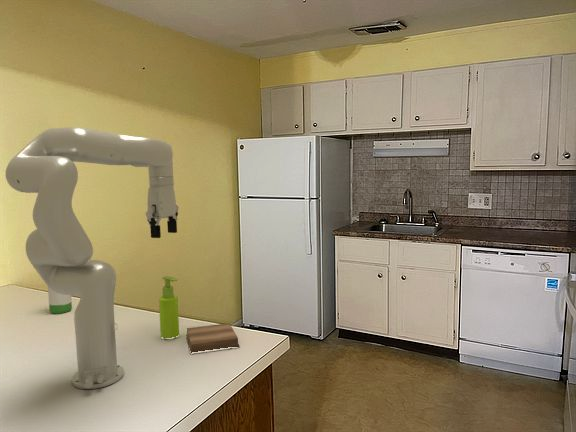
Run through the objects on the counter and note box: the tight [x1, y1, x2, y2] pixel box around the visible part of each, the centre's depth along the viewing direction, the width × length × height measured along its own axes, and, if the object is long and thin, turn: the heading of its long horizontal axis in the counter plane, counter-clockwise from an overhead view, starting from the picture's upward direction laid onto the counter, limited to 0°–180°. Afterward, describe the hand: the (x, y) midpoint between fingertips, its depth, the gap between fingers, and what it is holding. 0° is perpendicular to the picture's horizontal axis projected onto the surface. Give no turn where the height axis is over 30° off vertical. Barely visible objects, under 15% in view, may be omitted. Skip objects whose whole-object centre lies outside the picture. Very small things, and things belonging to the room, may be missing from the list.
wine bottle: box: [47, 286, 73, 315], centre depth 172 cm, size 8×8×30 cm
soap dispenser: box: [158, 275, 180, 338], centre depth 145 cm, size 6×7×20 cm
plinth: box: [185, 322, 240, 354], centre depth 141 cm, size 15×15×3 cm
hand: (164, 235), depth 145 cm, fingers open, 9 cm apart
